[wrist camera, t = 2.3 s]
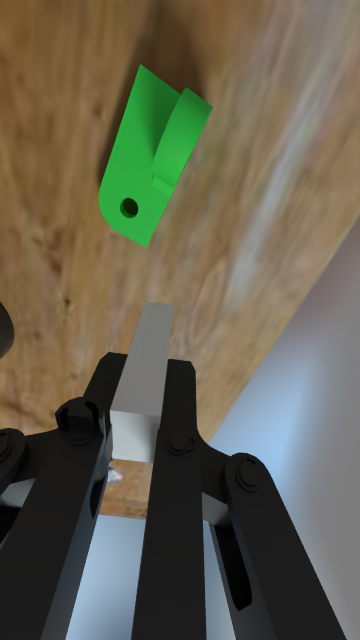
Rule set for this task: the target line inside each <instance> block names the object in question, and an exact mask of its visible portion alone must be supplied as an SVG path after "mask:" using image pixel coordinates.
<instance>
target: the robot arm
mask: <svg viewBox="0 0 360 640" xmlns="http://www.w3.org/2000/svg"><path fill="white" fill-rule="evenodd" d="M173 311H174V305H168V304H161V303H153V302H145V305H144V308H143V311H142V314H141V317H140V320H139V323H138V326H137V329H136V332H135V336H134V339H133V342H132V345H131V348H130V351H129V354H120V353H112V352H108V353H107V354H106V355H105V356H104V357H103V358H101V359H100V361H99V363H98V365H97V367H96V369H95V372H94V374H93V376H92V379H91V380H90V382H89V384H88V387H87V389H86V391H85V393H84V395H83V397H77V398H74V399H71V400H69V401H67V402H66V403H64V404H63V405H61V406H60V408H59V409H58V410H57V411H56V413H55V417H56V421H57V425H58V428H57V429H55V430H51V431H48V432H43V433H38V434H33V435H27V436H24V434H23V433H22V432H21V431H19V430H18V429H12V428H6V429H0V640H65V639H66V635H67V631H68V627H69V623H70V620H71V616H72V612H73V608H74V605H75V600H76V597H77V593H78V589H79V586H80V582H81V578H82V574H83V570H84V566H85V563H86V559H87V555H88V551H89V547H90V544H91V540H92V536H93V532H94V528H95V524H96V520H97V517H98V513H99V509H100V506H101V502H102V498H103V494H104V490H105V486H106V483H107V479H108V466H109V462H110V458H111V455H112V458H114V459H124V460H133V461H143V462H152V463H153V470H152V478H151V485H150V493H149V501H148V509H147V517H146V524H145V532H144V540H143V548H142V557H141V563H140V572H139V579H138V587H137V595H136V602H135V610H134V618H133V627H132V634H131V640H206V611H205V610H206V609H205V577H204V545H203V519H204V520H206V521H208V522H209V527H210V530H211V535H212V539H213V544H214V548H215V552H216V556H217V560H218V565H219V569H220V573H221V577H222V582H223V586H224V590H225V594H226V599H227V603H228V607H229V612H230V616H231V620H232V624H233V629H234V633H235V637H236V640H347V639H346V637H345V635H344V633H343V631H342V629H341V626H340V624H339V622H338V620H337V618H336V616H335V613H334V611H333V609H332V607H331V605H330V603H329V600H328V598H327V596H326V594H325V592H324V590H323V587H322V585H321V583H320V581H319V579H318V577H317V574H316V573H315V570H314V568H313V566H312V564H311V561H310V559H309V557H308V555H307V553H306V551H305V549H304V546H303V544H302V542H301V540H300V538H299V536H298V533H297V531H296V529H295V527H294V525H293V523H292V521H291V518H290V516H289V514H288V512H287V510H286V507H285V506H284V503H283V501H282V499H281V497H280V494H279V492H278V490H277V488H276V486H275V484H274V481H273V479H272V477H271V475H270V473H269V471H268V470H267V468H266V467H265V465H264V464H263V463H262V462H261V461H260V460H259V459H258V458H257V457H255V456H252V455H250V454H248V453H236V454H234V455H232V456H228V455H226V454H224V453H222V452H220V451H218V450H216V449H214V448H212V447H210V446H209V445H208V444H207V443H206V442H205V441H204V440H203V439H202V438H201V436H200V434H199V432H198V429H197V415H196V371H195V369H194V367H193V365H192V363H191V361H183V360H175V359H168V354H169V345H170V337H171V328H172V320H173ZM13 341H14V331H13V326H12V323H11V321H10V319H9V317H8V315H7V313H6V312H5V310H4V309H3V308H2V306H1V305H0V359H1V358H2V357H3V356H4V355H5V354H6V353H7V352H8V351H9V350H10V348H11V347H12V344H13Z"/></svg>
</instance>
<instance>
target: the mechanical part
mask: <svg viewBox="0 0 360 640" xmlns="http://www.w3.org/2000/svg"><path fill="white" fill-rule="evenodd" d="M212 108H213V107H212V106H211V105H209V104H208V103H207V102H205V101H204V100H203V99H201V98H200V97H199V96H198V95H196V94H195V93H194V92H192V91H191V90H190V89H188V88H187V87H186V88H185V89H184V91H183V92H182V94H179V93H178V92H177V91H176V90H174V89H173V88H172V87H170V86H169V85H168V84H166V83H165V82H164V81H162V80H161V79H160V78H158V77H157V76H156V75H154V74H153V73H152V72H150V71H149V70H148V69H146V68H145V67H144V66H142V65H141V64H140V67H139V70H138V73H137V76H136V79H135V82H134V85H133V88H132V91H131V94H130V97H129V100H128V103H127V107H126V110H125V113H124V116H123V119H122V122H121V125H120V128H119V131H118V134H117V137H116V140H115V143H114V146H113V150H112V153H111V156H110V159H109V162H108V165H107V168H106V171H105V174H104V177H103V180H102V183H101V186H100V190H99V205H100V209H101V212H102V214H103V216H104V218H105V220H106V221H107V223H108V224H109V225H110V226H111V227H112V228H113V229H114V230H116V231H117V232H119V233H121V234H122V235H124V236H126V237H128V238H130V239H131V240H133V241H135V242H137V243H139V244H141V245H142V246H144V247H147V245H148V243H149V241H150V239H151V237H152V234H153V232H154V230H155V228H156V226H157V224H158V222H159V220H160V218H161V216H162V214H163V212H164V210H165V207H166V205H167V203H168V201H169V199H170V197H171V195H172V193H173V191H174V189H175V187H176V185H177V182H178V180H179V178H180V176H181V174H182V172H183V170H184V168H185V166H186V164H187V162H188V160H189V158H190V155H191V153H192V151H193V149H194V147H195V145H196V143H197V141H198V139H199V137H200V135H201V133H202V130H203V128H204V126H205V124H206V122H207V120H208V118H209V115H210V113H211V111H212ZM126 198H131V199H133V200H135V202H136V203H137V205H138V213H137V214H136V215H131V214H129V213H128V212H127V211H126V210H125V208H124V201H125V199H126Z"/></svg>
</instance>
